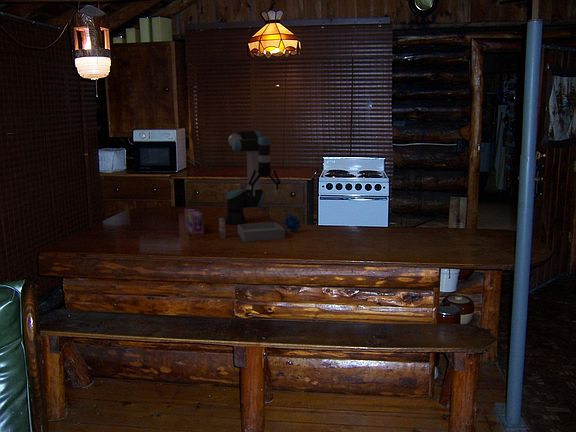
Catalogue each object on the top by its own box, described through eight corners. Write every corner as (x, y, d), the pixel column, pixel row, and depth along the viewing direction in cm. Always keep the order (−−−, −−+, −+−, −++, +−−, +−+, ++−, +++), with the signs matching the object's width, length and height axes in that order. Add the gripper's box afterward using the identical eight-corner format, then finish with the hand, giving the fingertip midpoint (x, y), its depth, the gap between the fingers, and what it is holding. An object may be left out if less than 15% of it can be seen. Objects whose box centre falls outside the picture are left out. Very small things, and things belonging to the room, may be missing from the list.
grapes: (282, 233, 378) (282, 215, 375) (283, 230, 384) (283, 213, 382) (299, 233, 376) (299, 215, 373) (301, 231, 382) (301, 213, 380)
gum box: (205, 234, 377) (204, 213, 375) (193, 235, 374) (192, 214, 372) (196, 226, 399) (195, 207, 396) (184, 227, 396) (184, 208, 393)
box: (237, 233, 377) (237, 224, 376) (276, 230, 384) (275, 222, 383) (244, 241, 356) (244, 232, 355) (284, 238, 363) (284, 229, 362)
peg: (219, 236, 370) (218, 218, 368) (225, 236, 371) (224, 217, 369) (220, 237, 366) (219, 219, 364) (226, 237, 367) (225, 219, 365)
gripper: (244, 163, 353) (245, 197, 357) (284, 162, 356) (285, 195, 361) (243, 161, 360) (244, 194, 364) (283, 160, 363) (283, 193, 368)
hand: (264, 195), depth 363 cm, fingers open, 13 cm apart
